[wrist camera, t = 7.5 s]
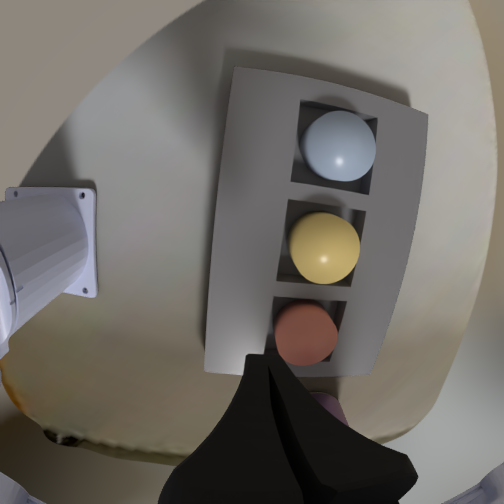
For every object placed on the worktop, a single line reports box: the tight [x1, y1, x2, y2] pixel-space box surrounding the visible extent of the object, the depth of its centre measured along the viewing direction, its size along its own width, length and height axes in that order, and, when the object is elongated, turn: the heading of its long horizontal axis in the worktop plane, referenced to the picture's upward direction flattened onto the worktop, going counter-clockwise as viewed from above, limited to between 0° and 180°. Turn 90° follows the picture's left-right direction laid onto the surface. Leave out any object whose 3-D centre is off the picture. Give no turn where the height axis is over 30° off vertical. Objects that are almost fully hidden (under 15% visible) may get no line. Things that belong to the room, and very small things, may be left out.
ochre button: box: [287, 211, 360, 284], centre depth 17 cm, size 4×4×2 cm
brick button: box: [273, 299, 338, 366], centre depth 19 cm, size 4×4×2 cm
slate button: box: [300, 111, 376, 181], centre depth 15 cm, size 4×4×2 cm
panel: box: [204, 66, 428, 377], centre depth 18 cm, size 13×20×2 cm, turn 173°
